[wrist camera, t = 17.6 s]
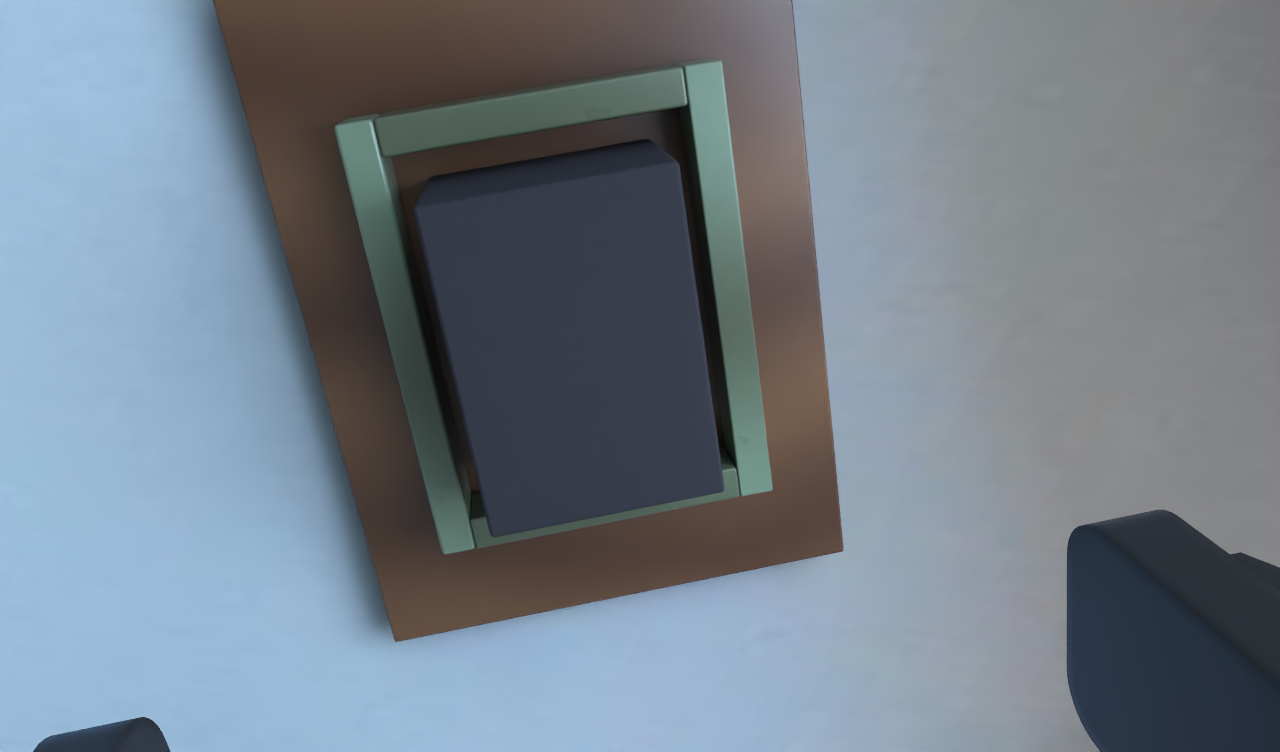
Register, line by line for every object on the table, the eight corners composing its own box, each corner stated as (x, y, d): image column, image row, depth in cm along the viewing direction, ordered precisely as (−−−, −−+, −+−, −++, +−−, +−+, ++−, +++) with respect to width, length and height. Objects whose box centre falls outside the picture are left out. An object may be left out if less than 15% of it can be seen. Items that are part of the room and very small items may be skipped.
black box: (428, 176, 22) (411, 208, 18) (650, 137, 22) (679, 159, 18) (493, 460, 24) (490, 540, 21) (692, 422, 25) (726, 493, 21)
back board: (221, -14, 21) (184, -18, 19) (771, -101, 22) (802, -116, 20) (398, 621, 27) (388, 679, 24) (832, 533, 27) (863, 581, 25)
